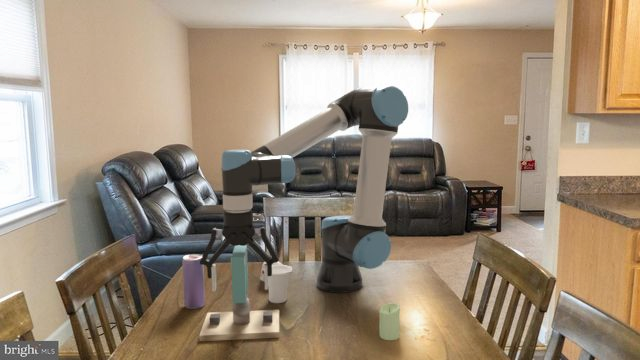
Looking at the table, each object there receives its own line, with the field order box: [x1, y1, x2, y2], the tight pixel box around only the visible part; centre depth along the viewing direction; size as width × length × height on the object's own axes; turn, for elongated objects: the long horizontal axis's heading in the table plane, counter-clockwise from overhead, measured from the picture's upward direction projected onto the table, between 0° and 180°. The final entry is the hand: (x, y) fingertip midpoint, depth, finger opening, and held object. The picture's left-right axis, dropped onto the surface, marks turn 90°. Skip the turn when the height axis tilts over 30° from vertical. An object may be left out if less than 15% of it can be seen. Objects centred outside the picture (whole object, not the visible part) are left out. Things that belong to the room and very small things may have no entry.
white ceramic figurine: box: [259, 260, 284, 283], centre depth 162 cm, size 10×8×15 cm
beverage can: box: [182, 253, 206, 310], centre depth 142 cm, size 6×6×15 cm
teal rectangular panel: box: [230, 244, 249, 304], centre depth 127 cm, size 3×11×13 cm, turn 5°
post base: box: [198, 297, 280, 342], centre depth 128 cm, size 20×14×8 cm
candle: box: [378, 302, 401, 341], centre depth 122 cm, size 5×5×8 cm
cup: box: [268, 264, 294, 304], centre depth 146 cm, size 9×9×10 cm
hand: (240, 288), depth 127 cm, fingers open, 13 cm apart
